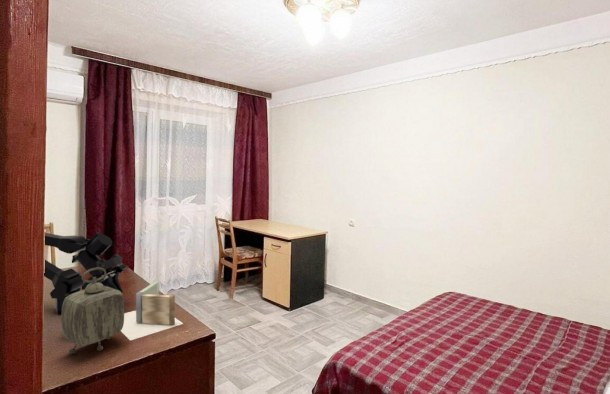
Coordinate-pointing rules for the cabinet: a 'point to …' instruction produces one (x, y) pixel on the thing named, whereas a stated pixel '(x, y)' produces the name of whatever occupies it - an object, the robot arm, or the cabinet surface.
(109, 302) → the tabletop clock
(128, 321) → the card
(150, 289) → the folding fence panel
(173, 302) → the brown flat square block
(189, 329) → the cabinet surface
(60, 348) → the cabinet surface
